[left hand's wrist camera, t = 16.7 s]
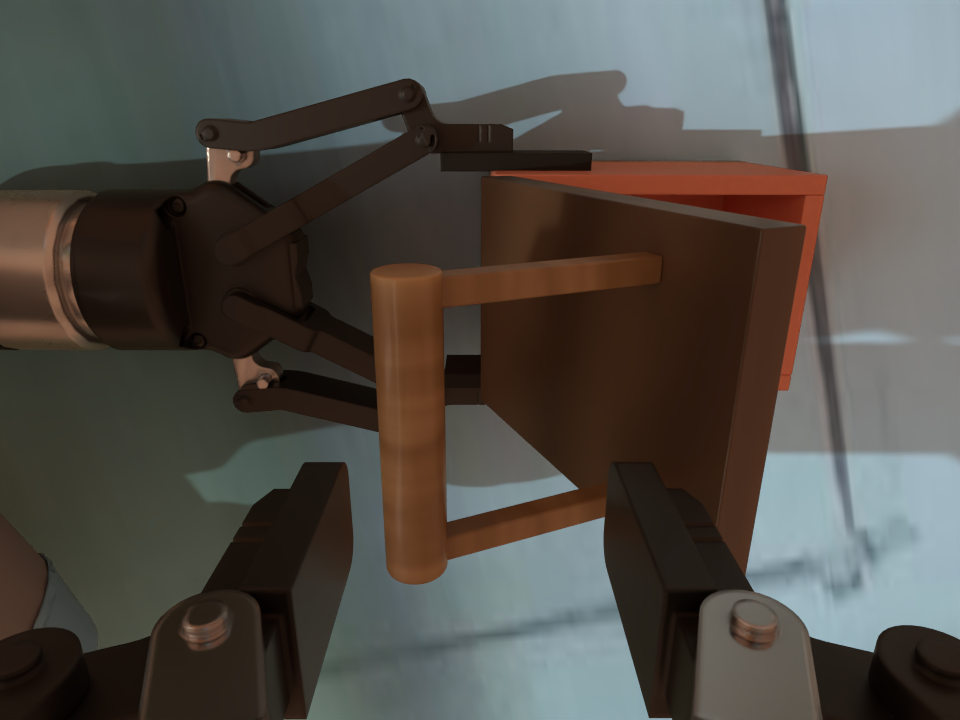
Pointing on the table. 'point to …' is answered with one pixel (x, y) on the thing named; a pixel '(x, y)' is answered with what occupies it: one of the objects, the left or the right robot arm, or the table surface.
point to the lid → (588, 360)
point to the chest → (717, 202)
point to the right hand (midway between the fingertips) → (580, 271)
